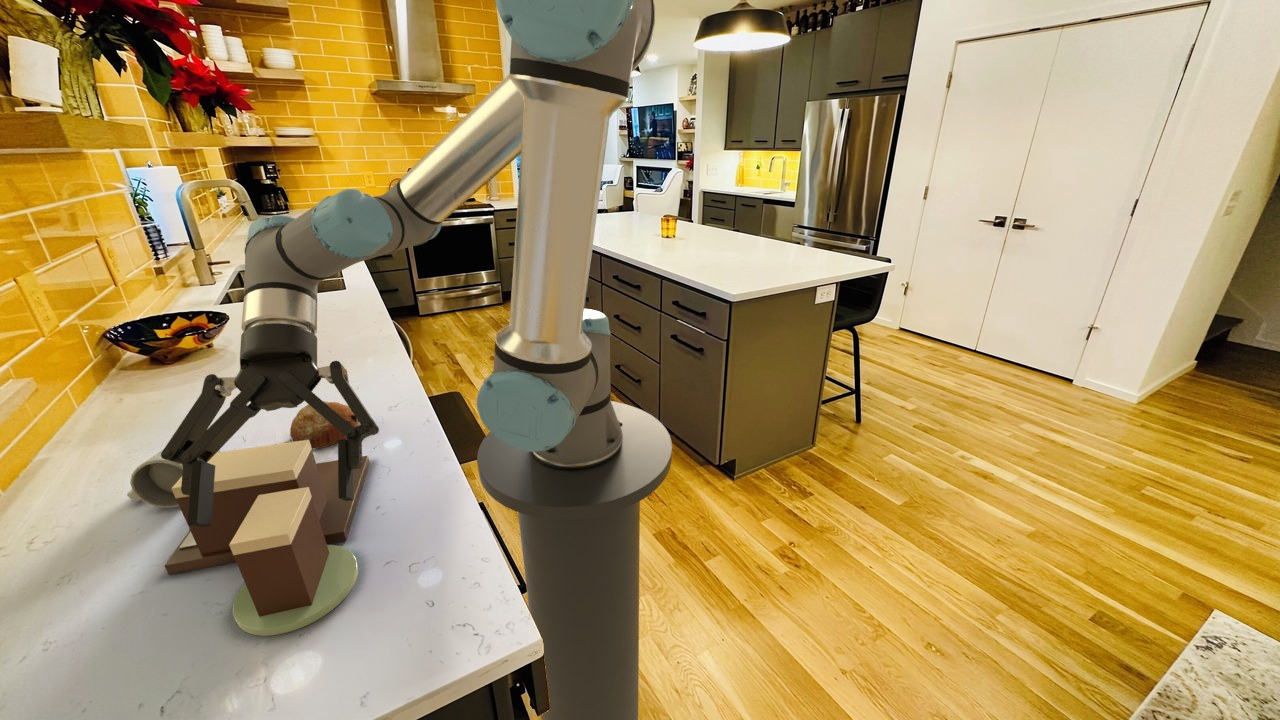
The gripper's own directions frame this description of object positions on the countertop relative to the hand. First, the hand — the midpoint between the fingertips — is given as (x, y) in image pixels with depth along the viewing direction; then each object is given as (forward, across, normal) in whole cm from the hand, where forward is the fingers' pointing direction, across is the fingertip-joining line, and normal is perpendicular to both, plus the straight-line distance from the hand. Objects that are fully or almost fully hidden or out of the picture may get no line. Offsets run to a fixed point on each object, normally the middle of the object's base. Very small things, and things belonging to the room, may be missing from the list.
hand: (275, 512), depth 54 cm
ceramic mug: (-10, +22, -25) cm, 35 cm away
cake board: (-4, +6, -19) cm, 20 cm away
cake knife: (-5, +14, -18) cm, 23 cm away
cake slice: (+7, 0, -7) cm, 10 cm away
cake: (-1, +6, -14) cm, 16 cm away
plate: (+8, 0, -8) cm, 11 cm away
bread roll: (-18, +5, -34) cm, 39 cm away
